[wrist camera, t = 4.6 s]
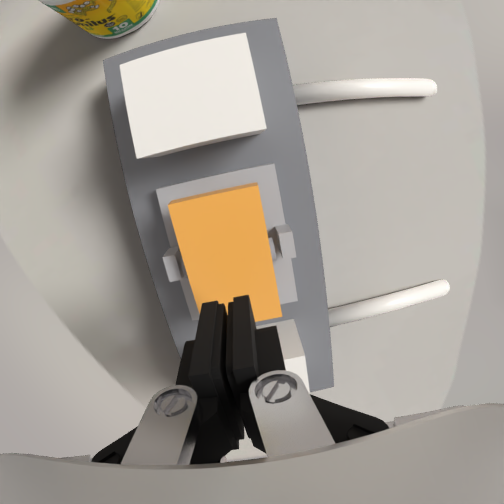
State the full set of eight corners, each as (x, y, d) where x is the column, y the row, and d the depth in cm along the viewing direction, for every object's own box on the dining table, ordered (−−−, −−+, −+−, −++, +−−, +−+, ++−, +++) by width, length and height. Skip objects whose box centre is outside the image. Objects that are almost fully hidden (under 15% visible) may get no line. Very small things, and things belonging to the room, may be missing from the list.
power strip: (122, 71, 16) (72, 42, 9) (417, 34, 15) (473, 6, 9) (205, 382, 22) (197, 448, 16) (440, 326, 22) (483, 372, 16)
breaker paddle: (169, 198, 13) (162, 206, 12) (260, 179, 13) (263, 184, 12) (202, 316, 16) (201, 331, 14) (282, 301, 15) (286, 315, 14)
